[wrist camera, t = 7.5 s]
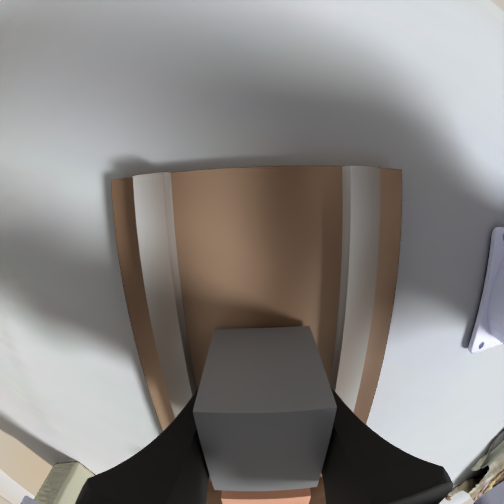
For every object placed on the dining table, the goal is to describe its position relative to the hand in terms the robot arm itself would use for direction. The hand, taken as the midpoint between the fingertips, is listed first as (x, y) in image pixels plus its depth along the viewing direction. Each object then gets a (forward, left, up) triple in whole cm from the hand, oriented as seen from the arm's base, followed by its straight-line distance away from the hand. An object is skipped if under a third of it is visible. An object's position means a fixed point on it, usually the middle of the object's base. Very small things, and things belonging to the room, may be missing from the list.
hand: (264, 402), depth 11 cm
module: (0, 0, -2) cm, 2 cm away
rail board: (0, +1, -3) cm, 3 cm away
